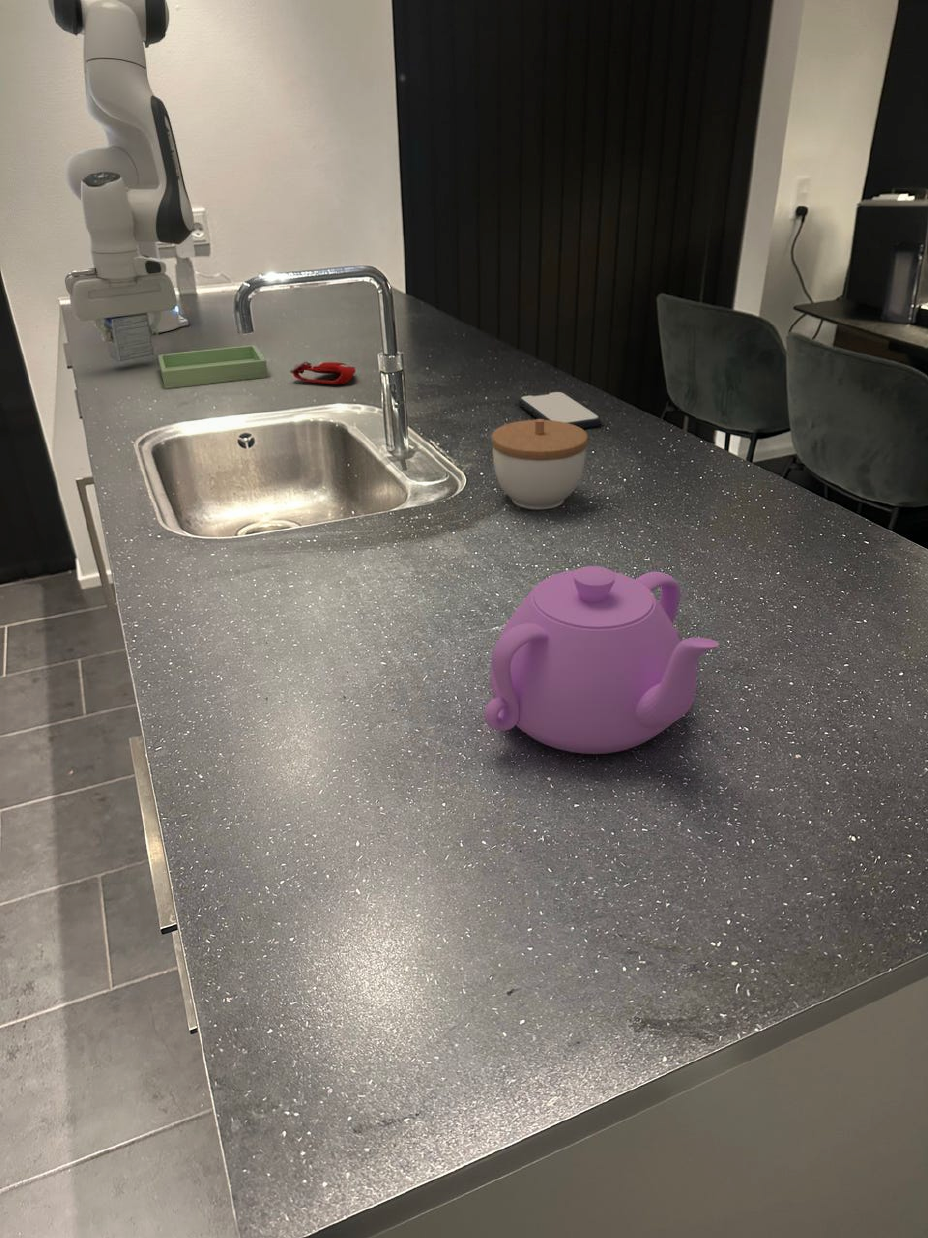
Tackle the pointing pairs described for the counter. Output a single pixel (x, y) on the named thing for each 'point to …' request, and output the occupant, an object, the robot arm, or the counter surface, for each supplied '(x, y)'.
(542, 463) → the lidded bowl
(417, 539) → the counter surface
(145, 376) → the counter surface
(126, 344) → the medicine box
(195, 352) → the tray
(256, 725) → the counter surface
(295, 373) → the tracker holder
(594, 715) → the teapot
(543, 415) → the phone case
